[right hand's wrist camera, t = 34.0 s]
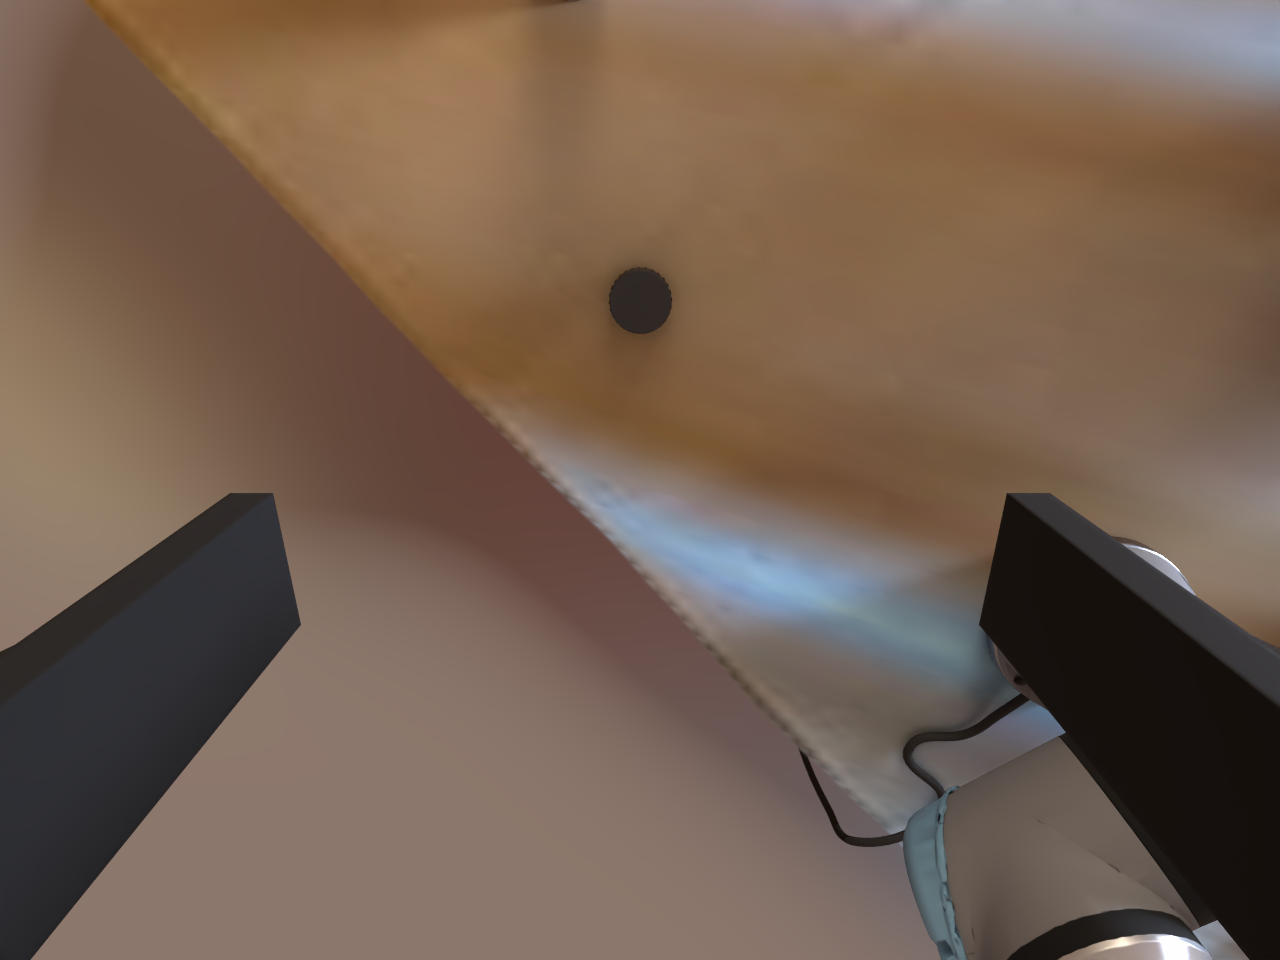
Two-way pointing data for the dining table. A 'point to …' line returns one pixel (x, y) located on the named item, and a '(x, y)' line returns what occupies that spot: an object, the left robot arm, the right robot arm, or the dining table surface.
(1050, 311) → the dining table surface
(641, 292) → the cap
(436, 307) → the dining table surface
